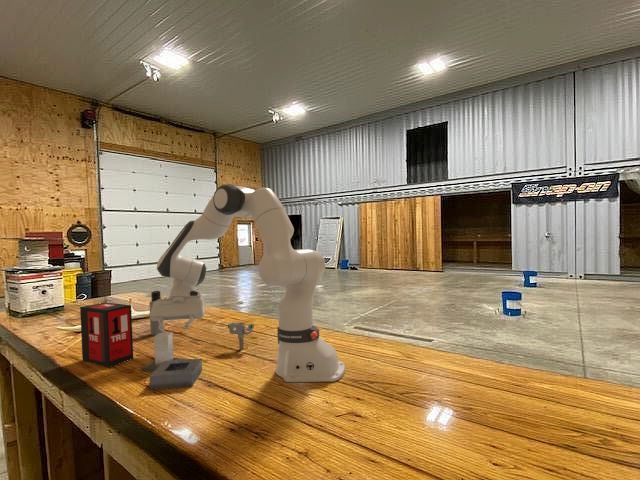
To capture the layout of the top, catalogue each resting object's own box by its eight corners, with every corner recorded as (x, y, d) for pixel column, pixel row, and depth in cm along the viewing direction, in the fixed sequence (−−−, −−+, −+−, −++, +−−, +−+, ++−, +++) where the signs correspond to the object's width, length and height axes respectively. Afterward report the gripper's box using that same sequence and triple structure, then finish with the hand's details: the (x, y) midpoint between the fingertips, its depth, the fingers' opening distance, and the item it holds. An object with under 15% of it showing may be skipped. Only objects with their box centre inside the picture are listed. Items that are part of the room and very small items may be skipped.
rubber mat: (186, 361, 120) (186, 358, 120) (167, 372, 110) (167, 369, 110) (162, 359, 122) (162, 357, 122) (141, 370, 113) (141, 367, 113)
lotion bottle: (166, 331, 159) (164, 289, 159) (159, 335, 154) (158, 292, 153) (155, 332, 160) (153, 290, 159) (148, 335, 154) (146, 292, 154)
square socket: (202, 370, 111) (201, 358, 111) (192, 386, 99) (191, 373, 99) (164, 373, 110) (163, 361, 110) (150, 389, 98) (149, 376, 98)
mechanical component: (252, 350, 129) (251, 324, 128) (227, 349, 131) (226, 324, 131) (255, 348, 132) (254, 322, 131) (231, 347, 134) (230, 322, 133)
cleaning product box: (133, 358, 124) (131, 305, 124) (108, 367, 117) (106, 310, 116) (107, 352, 132) (104, 302, 132) (82, 360, 124) (80, 306, 124)
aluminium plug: (173, 360, 119) (172, 332, 119) (169, 365, 114) (167, 335, 114) (160, 361, 118) (158, 332, 118) (155, 366, 114) (154, 336, 114)
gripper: (151, 295, 134) (142, 325, 124) (204, 292, 136) (199, 322, 126) (156, 304, 138) (148, 334, 128) (207, 301, 140) (203, 330, 131)
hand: (174, 328), depth 127 cm, fingers open, 8 cm apart
